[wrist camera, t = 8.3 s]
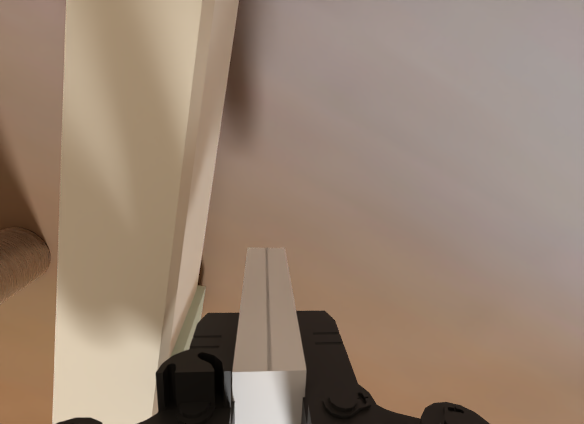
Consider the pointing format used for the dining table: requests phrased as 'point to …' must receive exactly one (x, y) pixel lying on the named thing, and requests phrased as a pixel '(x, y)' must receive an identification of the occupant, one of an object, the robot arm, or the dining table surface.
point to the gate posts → (20, 260)
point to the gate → (134, 195)
